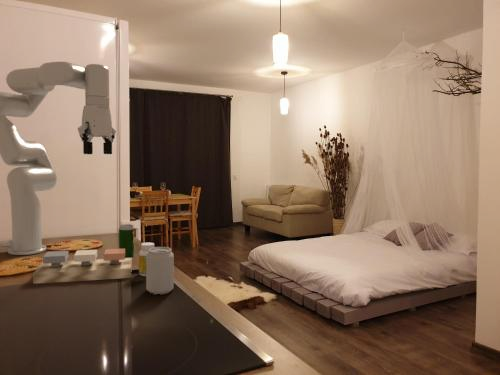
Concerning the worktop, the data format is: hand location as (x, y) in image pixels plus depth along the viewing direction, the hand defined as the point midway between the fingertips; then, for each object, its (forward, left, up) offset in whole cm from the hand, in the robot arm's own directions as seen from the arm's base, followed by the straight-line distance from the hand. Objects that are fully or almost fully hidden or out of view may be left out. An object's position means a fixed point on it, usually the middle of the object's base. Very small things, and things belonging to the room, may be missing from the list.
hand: (98, 154), depth 135 cm
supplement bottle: (+16, -17, -37) cm, 44 cm away
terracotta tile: (+6, -14, -34) cm, 37 cm away
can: (+19, -33, -37) cm, 54 cm away
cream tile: (-3, -14, -34) cm, 37 cm away
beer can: (+9, +2, -37) cm, 38 cm away
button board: (-3, -14, -37) cm, 40 cm away
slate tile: (-11, -14, -34) cm, 38 cm away
